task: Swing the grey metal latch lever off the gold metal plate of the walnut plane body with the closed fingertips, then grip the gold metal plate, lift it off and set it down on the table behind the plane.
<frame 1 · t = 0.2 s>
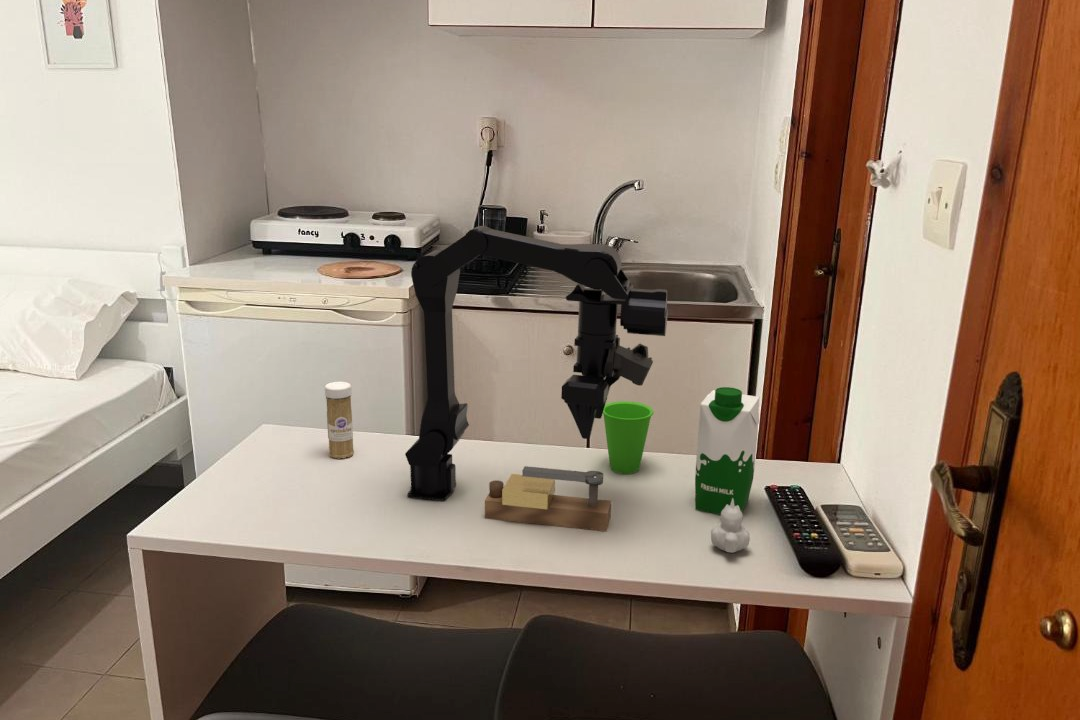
hand: (592, 428, 132), 14 cm above the table, tool pointing down, fingers open, 9 cm apart
milk carton: (722, 506, 137), on the table
gold metal plate: (529, 498, 131), point 3 cm above the table, touching plane body
white toy figurine: (728, 552, 123), on the table
cup: (624, 469, 150), on the table
lever: (562, 475, 129), point 8 cm above the table, hinge at 0.0°
plane body: (547, 518, 132), on the table
sprinkles bottle: (341, 455, 155), on the table
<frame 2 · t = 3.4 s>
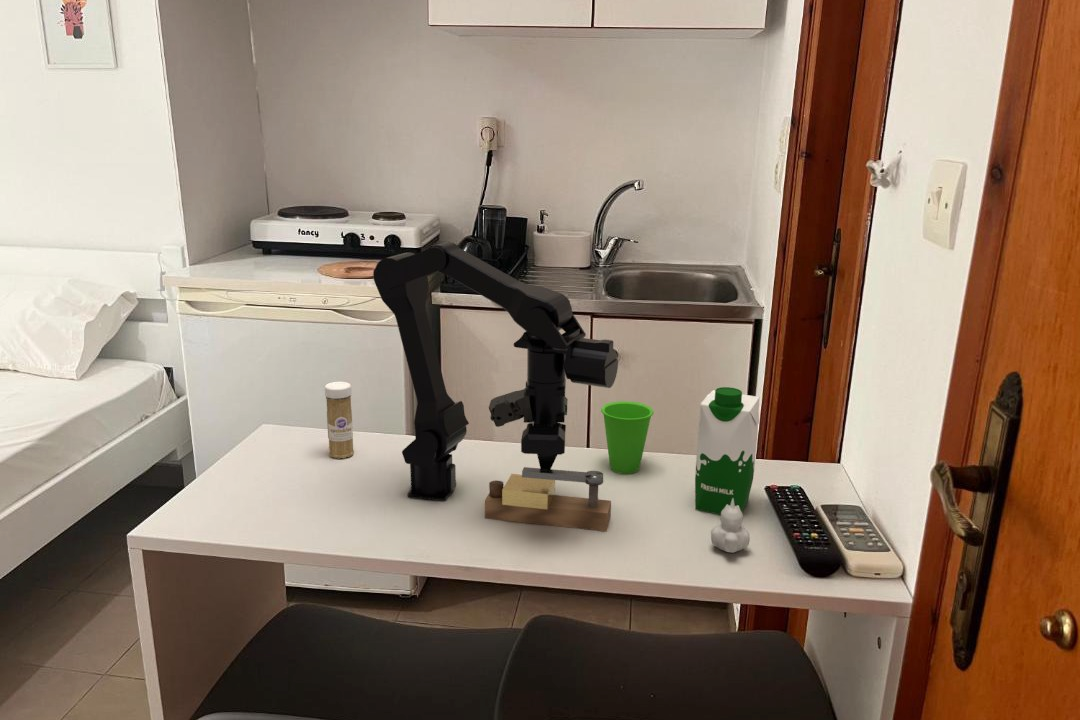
hand: (545, 473, 131), 7 cm above the table, tool pointing down, fingers closed
lever: (562, 475, 129), point 8 cm above the table, hinge at 2.0°, touching gripper
everything else where it was.
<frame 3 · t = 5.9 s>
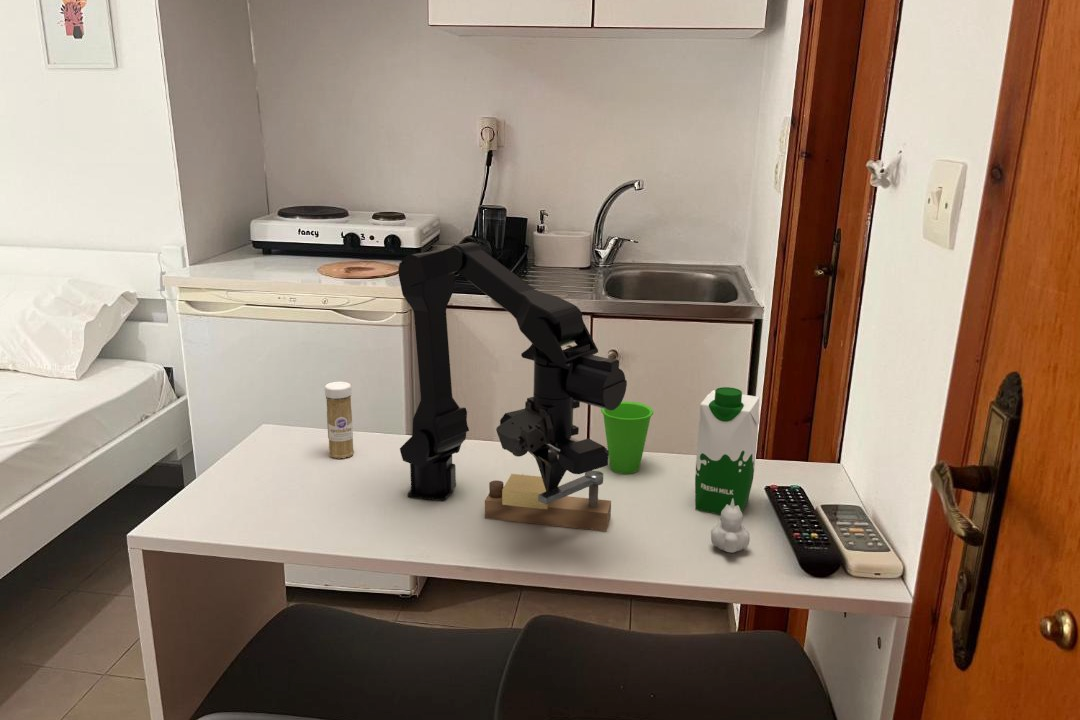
hand: (550, 492, 124), 7 cm above the table, tool pointing down, fingers closed
lever: (572, 487, 125), point 8 cm above the table, hinge at 56.1°, touching gripper
everything else where it was.
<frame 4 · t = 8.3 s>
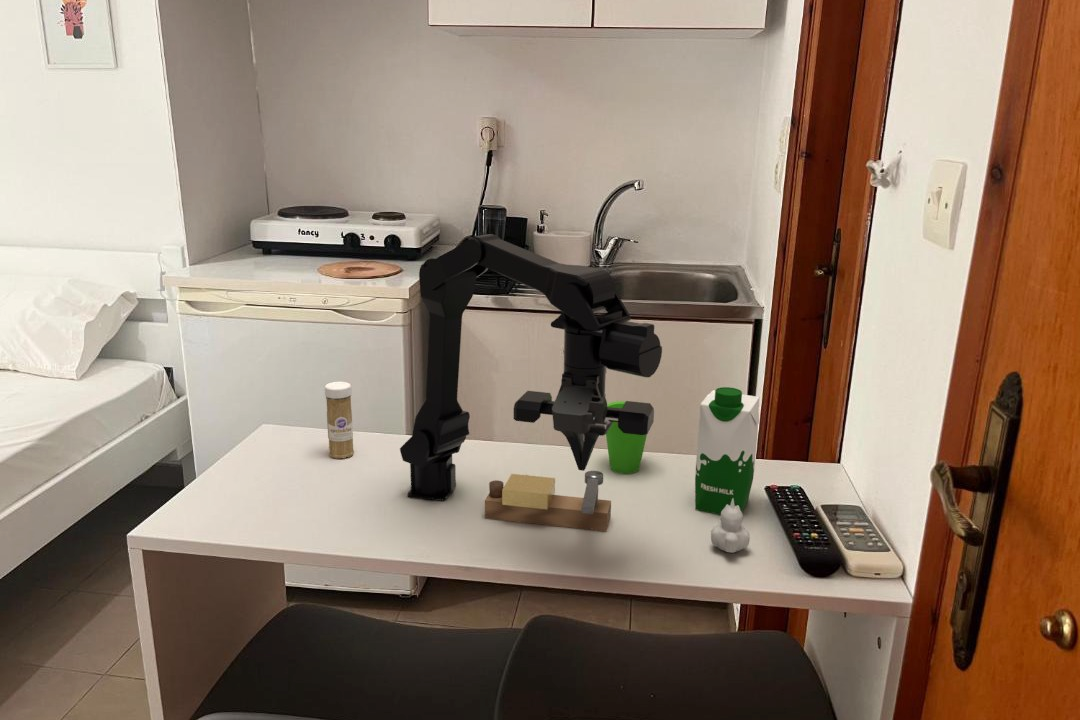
hand: (582, 469, 119), 12 cm above the table, tool pointing down, fingers closed
lever: (591, 491, 124), point 8 cm above the table, hinge at 93.6°
everything else where it was.
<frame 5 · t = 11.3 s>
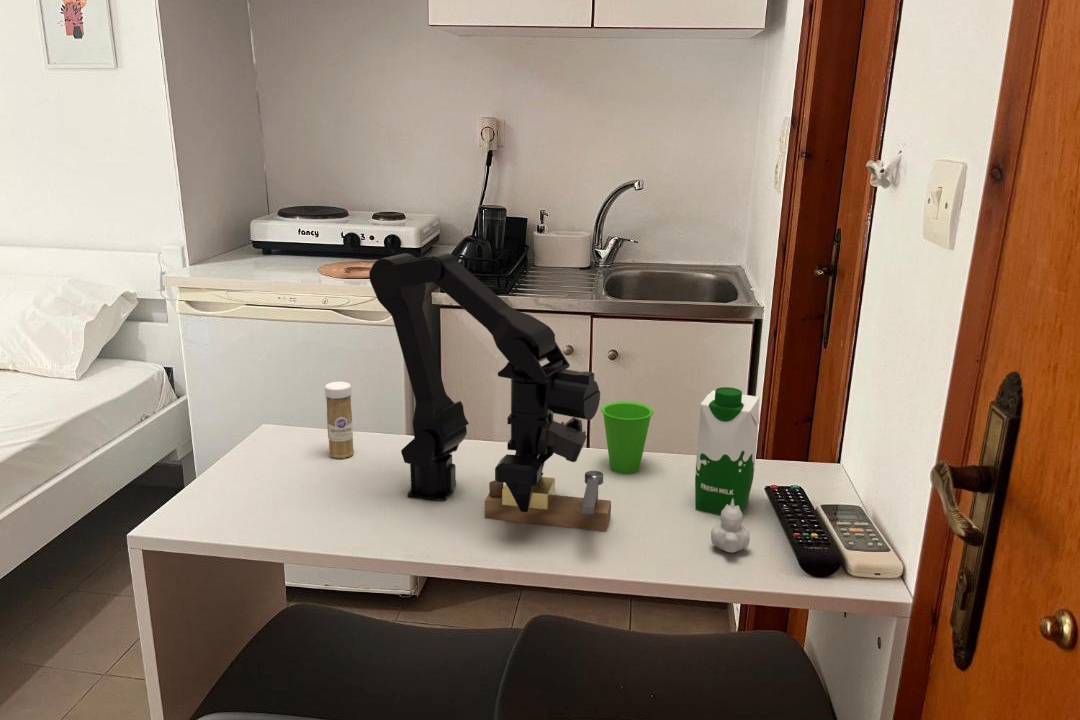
hand: (528, 502, 132), 2 cm above the table, tool pointing down, fingers closed on gold metal plate, 6 cm apart
gold metal plate: (529, 498, 131), point 3 cm above the table, touching gripper, plane body
everything else where it was.
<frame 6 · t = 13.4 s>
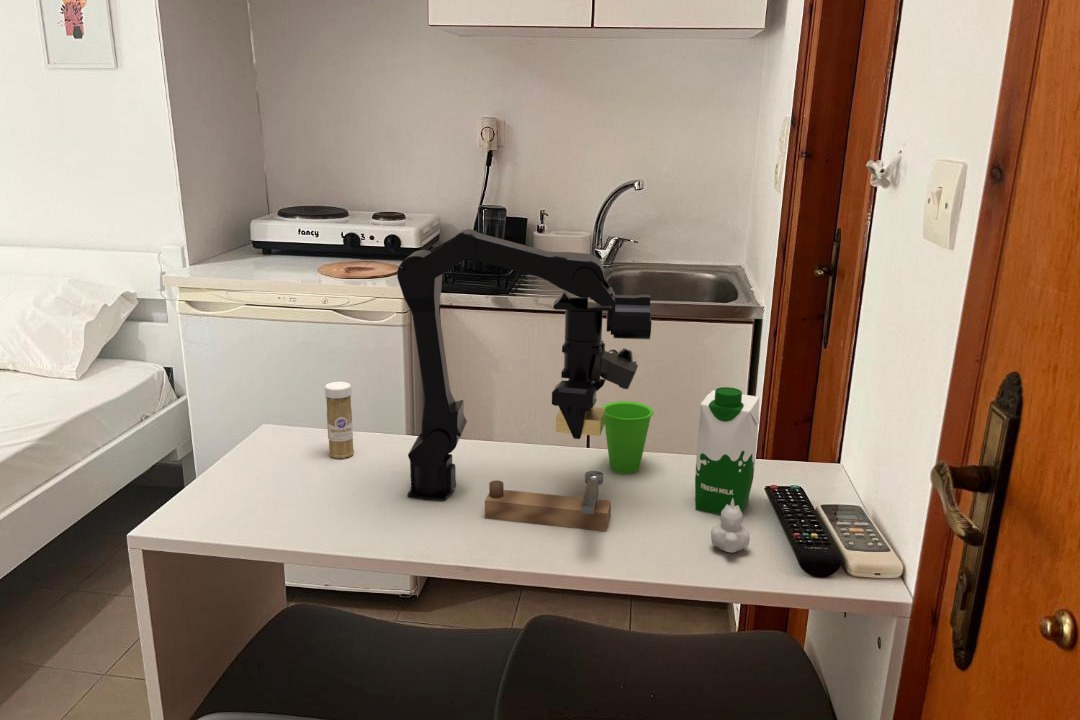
hand: (580, 431, 136), 12 cm above the table, tool pointing down, fingers closed on gold metal plate, 6 cm apart
gold metal plate: (580, 427, 135), point 12 cm above the table, touching gripper
everything else where it was.
when the fingers open (1 cm above the table, at t = 15.6 s): gold metal plate drops 2 cm, on the table.
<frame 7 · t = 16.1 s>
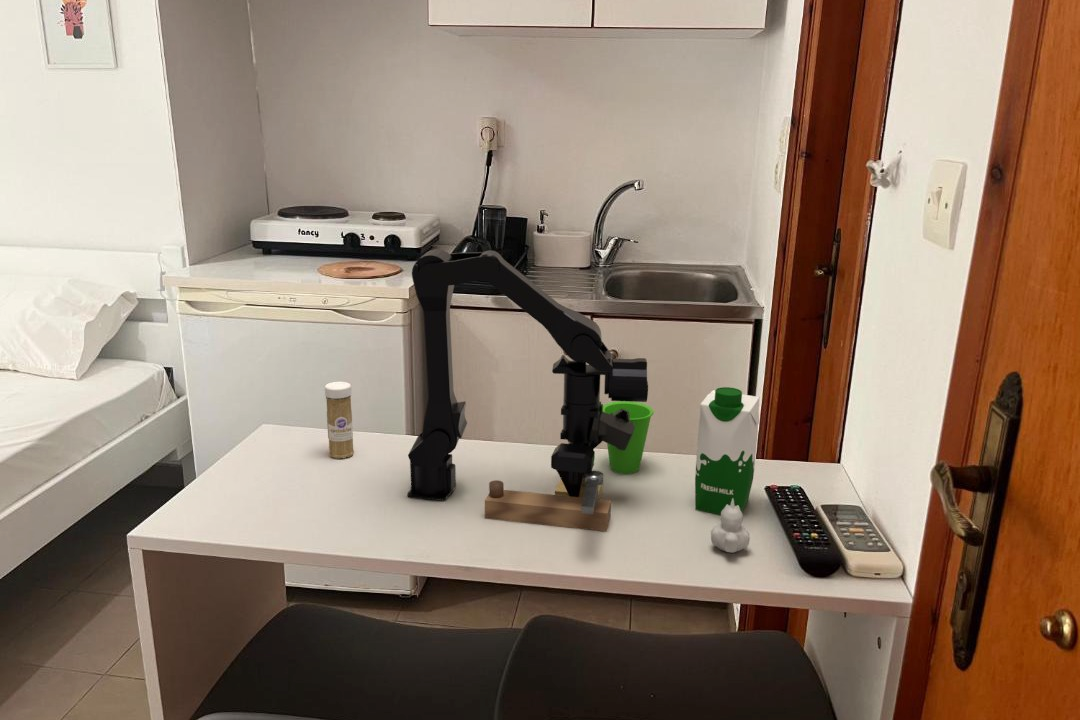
hand: (578, 489, 139), 1 cm above the table, tool pointing down, fingers open, 8 cm apart
gold metal plate: (579, 499, 139), on the table
lever: (591, 491, 124), point 8 cm above the table, hinge at 93.5°, touching gripper
everything else where it was.
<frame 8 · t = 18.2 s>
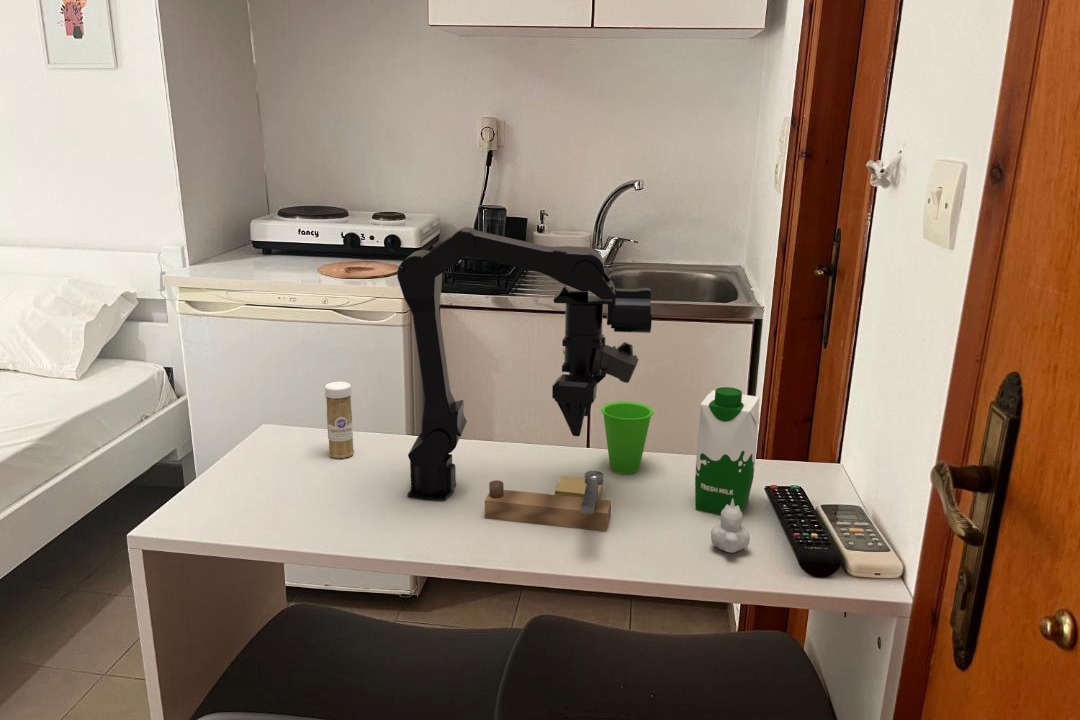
hand: (581, 425, 135), 12 cm above the table, tool pointing down, fingers open, 9 cm apart
lever: (591, 491, 124), point 8 cm above the table, hinge at 93.4°
everything else where it was.
at the end: lever at +93° (first picture: +0°); gold metal plate inside the target area (0.2 cm from its centre), on the table; the gripper is holding nothing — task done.
